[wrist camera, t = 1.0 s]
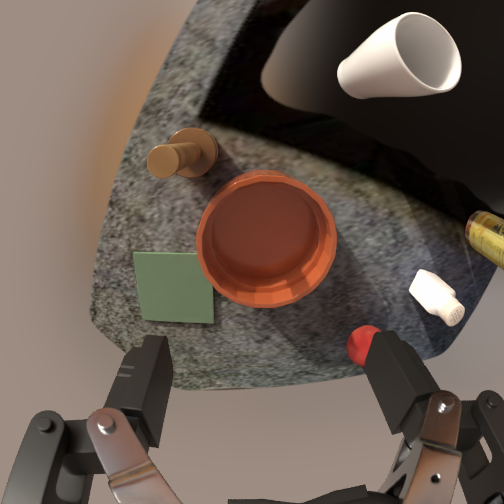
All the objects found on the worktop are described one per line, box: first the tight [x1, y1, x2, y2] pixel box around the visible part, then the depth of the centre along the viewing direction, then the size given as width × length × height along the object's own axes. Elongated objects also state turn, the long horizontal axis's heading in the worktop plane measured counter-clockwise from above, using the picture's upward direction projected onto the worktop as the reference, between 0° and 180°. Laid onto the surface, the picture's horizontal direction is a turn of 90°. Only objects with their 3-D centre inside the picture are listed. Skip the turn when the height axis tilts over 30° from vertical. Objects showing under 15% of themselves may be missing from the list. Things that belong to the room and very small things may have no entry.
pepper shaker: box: [409, 270, 465, 326], centre depth 34 cm, size 4×4×10 cm
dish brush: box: [147, 128, 218, 178], centre depth 24 cm, size 5×5×14 cm
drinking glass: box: [337, 12, 461, 99], centre depth 21 cm, size 7×7×15 cm
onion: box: [346, 325, 381, 367], centre depth 37 cm, size 6×6×8 cm
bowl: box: [196, 170, 337, 308], centre depth 32 cm, size 14×14×6 cm
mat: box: [133, 252, 214, 323], centre depth 37 cm, size 10×10×1 cm
